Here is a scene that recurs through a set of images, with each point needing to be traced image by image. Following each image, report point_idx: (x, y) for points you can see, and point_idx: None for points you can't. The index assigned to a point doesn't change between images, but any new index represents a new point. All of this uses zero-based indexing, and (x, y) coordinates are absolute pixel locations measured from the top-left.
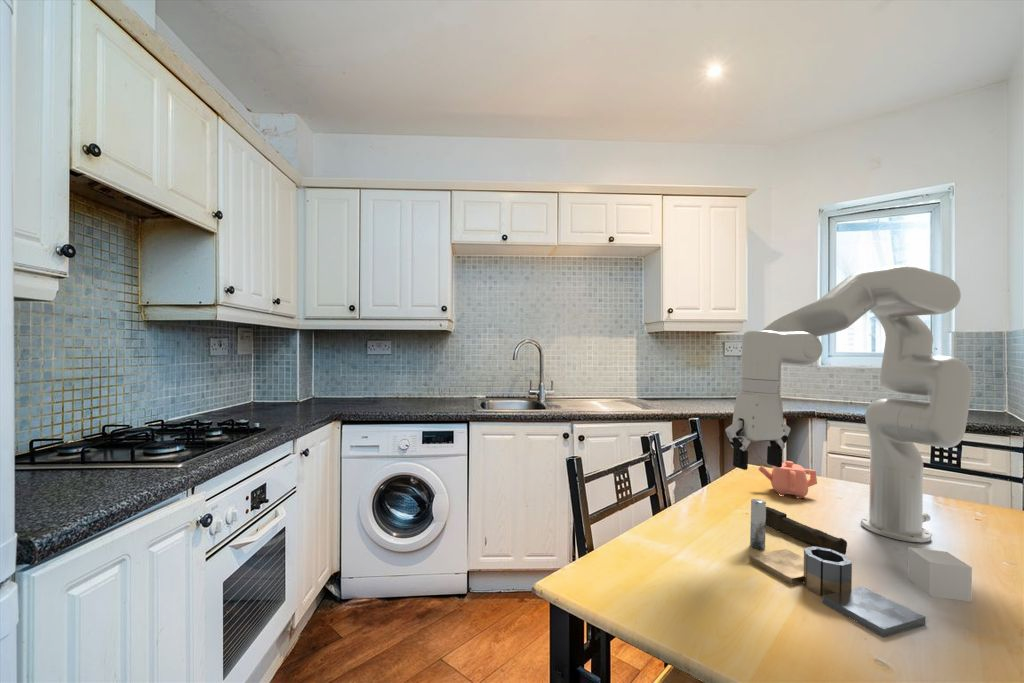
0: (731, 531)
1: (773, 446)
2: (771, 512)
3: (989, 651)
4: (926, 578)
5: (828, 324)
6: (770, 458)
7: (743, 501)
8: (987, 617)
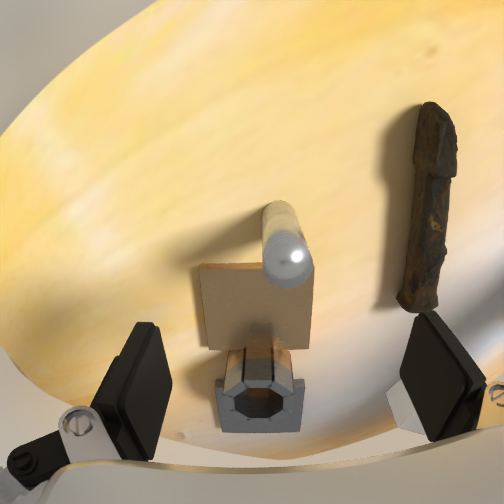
0: (292, 119)
1: (459, 420)
2: (434, 147)
3: (306, 448)
4: (395, 403)
5: None
6: (425, 354)
7: (476, 6)
8: (383, 422)
